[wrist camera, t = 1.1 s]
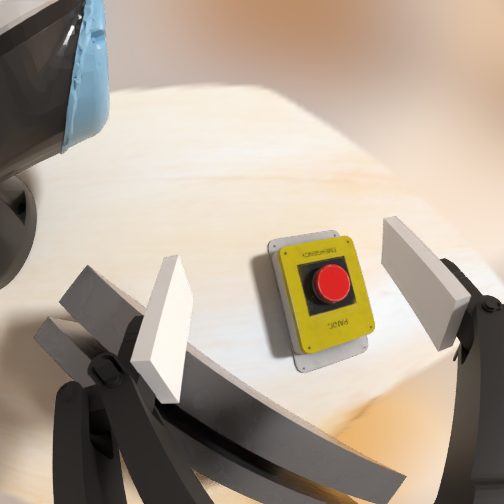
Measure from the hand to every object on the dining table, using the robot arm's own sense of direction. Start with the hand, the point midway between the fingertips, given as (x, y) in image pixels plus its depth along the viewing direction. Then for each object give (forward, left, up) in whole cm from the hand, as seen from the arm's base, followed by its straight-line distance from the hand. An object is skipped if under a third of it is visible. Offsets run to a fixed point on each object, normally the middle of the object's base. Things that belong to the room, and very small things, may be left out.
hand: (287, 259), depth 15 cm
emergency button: (+8, +4, -17) cm, 20 cm away
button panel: (+2, -9, -17) cm, 19 cm away
